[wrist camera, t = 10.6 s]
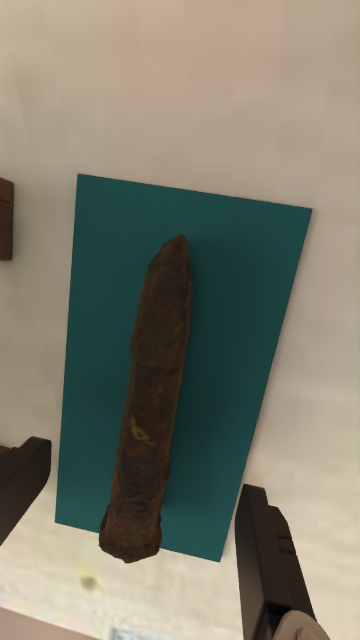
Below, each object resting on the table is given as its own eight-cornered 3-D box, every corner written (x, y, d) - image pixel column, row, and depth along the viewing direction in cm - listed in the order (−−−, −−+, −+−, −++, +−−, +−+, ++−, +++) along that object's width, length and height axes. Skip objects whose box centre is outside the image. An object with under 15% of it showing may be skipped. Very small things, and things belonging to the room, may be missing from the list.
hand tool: (164, 512, 19) (152, 590, 14) (112, 497, 19) (83, 570, 15) (232, 249, 15) (244, 242, 10) (163, 234, 15) (144, 220, 10)
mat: (309, 210, 14) (312, 208, 14) (219, 557, 20) (220, 563, 19) (80, 175, 15) (77, 173, 15) (57, 517, 21) (54, 523, 20)
